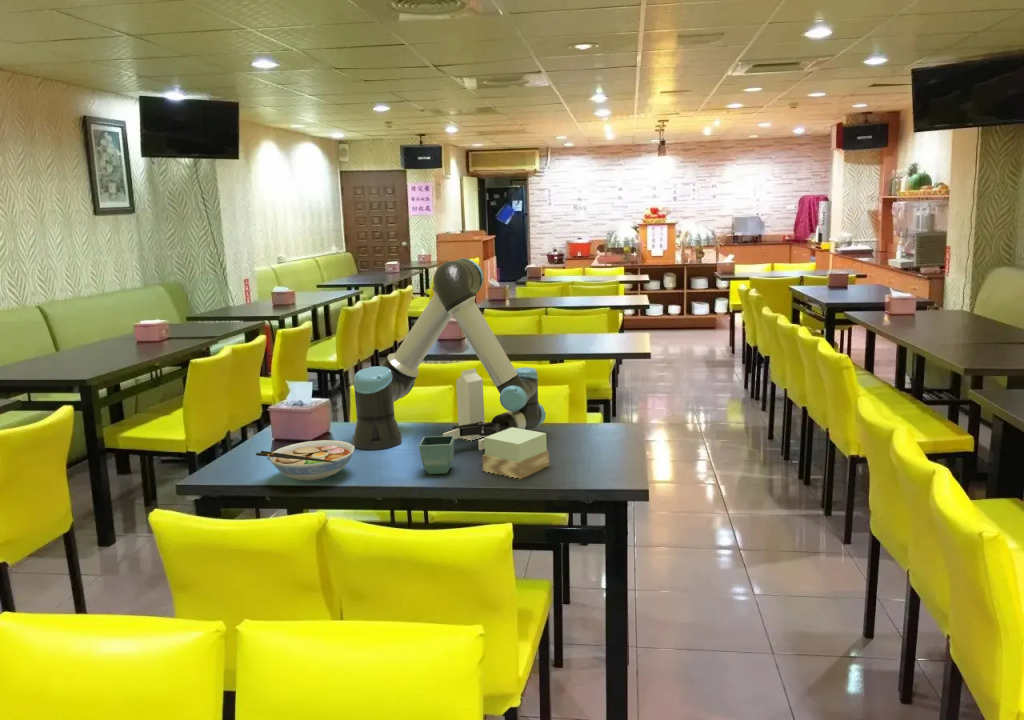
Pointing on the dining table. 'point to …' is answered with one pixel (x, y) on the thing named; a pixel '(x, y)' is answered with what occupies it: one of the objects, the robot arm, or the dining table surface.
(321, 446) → the ramen bowl
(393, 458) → the dining table surface
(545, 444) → the sage block
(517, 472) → the maple block
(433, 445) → the flower pot
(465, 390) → the milk
